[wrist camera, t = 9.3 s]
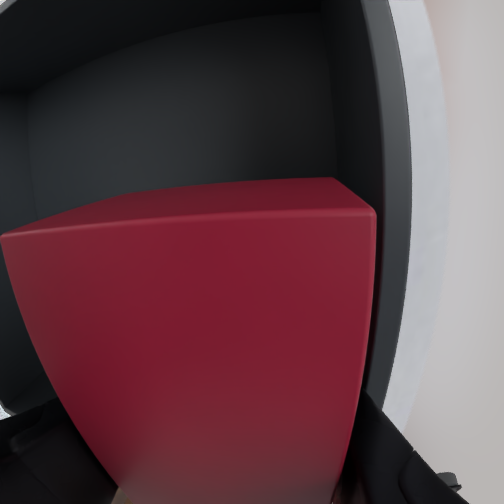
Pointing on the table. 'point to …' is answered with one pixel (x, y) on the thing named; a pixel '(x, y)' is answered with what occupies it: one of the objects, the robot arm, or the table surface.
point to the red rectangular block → (206, 334)
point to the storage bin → (200, 125)
